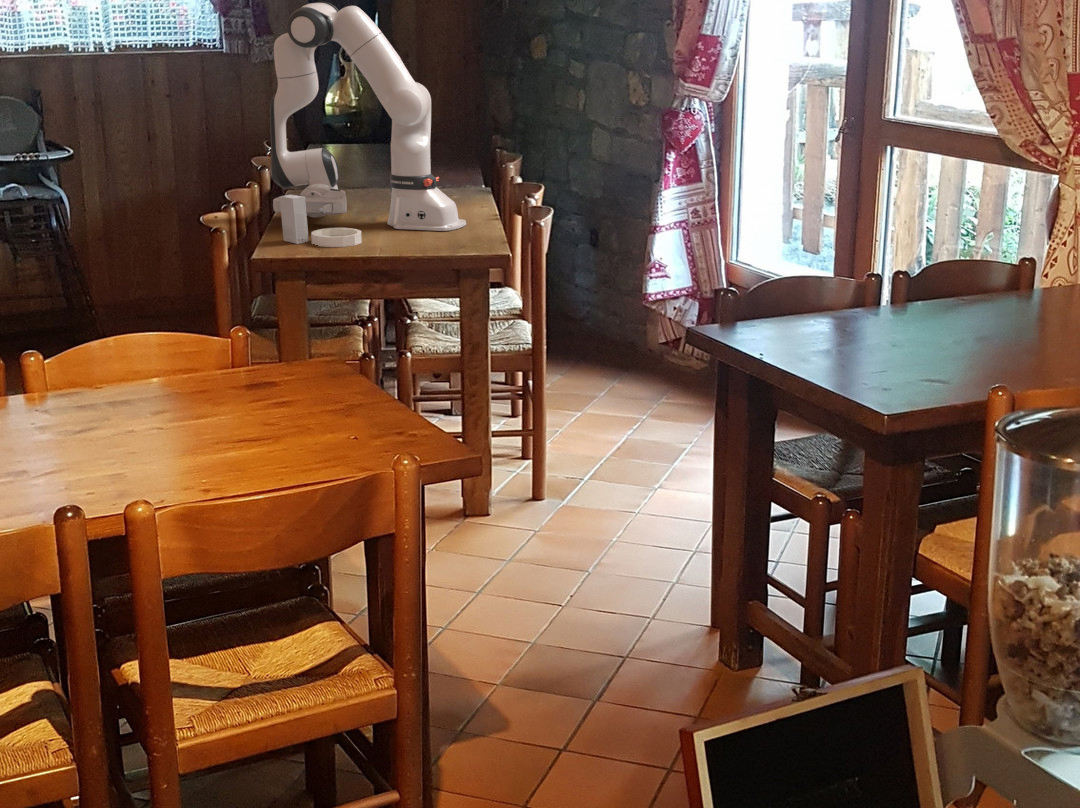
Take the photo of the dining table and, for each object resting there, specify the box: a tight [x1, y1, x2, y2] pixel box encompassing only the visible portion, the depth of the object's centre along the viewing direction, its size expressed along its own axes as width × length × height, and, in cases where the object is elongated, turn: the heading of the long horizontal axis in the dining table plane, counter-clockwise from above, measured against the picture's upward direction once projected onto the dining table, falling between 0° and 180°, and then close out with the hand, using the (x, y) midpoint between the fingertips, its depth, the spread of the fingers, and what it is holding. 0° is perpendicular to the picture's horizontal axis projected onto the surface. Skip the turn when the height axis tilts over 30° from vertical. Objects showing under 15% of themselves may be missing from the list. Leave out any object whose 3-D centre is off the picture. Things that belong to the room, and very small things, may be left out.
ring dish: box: [310, 227, 363, 248], centre depth 327 cm, size 13×13×3 cm
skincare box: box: [279, 194, 309, 245], centre depth 325 cm, size 6×4×12 cm
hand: (304, 209), depth 336 cm, fingers open, 8 cm apart
